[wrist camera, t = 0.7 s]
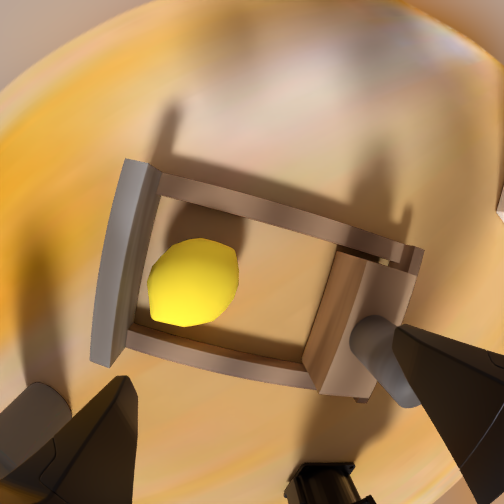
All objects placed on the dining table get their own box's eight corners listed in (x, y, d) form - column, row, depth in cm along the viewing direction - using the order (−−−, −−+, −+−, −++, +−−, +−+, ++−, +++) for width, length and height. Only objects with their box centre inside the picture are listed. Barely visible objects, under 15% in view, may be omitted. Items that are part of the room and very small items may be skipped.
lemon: (207, 220, 21) (210, 212, 16) (252, 277, 22) (269, 288, 17) (133, 279, 21) (114, 291, 15) (180, 335, 21) (175, 362, 16)
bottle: (20, 392, 21) (-54, 468, 6) (43, 373, 21) (-44, 461, 6) (55, 432, 22) (-2, 520, 7) (82, 418, 22) (19, 522, 7)
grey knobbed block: (380, 264, 22) (480, 298, 11) (344, 365, 23) (408, 449, 12) (336, 250, 21) (428, 281, 10) (301, 359, 22) (349, 454, 11)
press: (403, 246, 22) (440, 253, 17) (353, 385, 23) (376, 416, 18) (147, 171, 20) (125, 158, 15) (114, 333, 21) (89, 360, 16)
